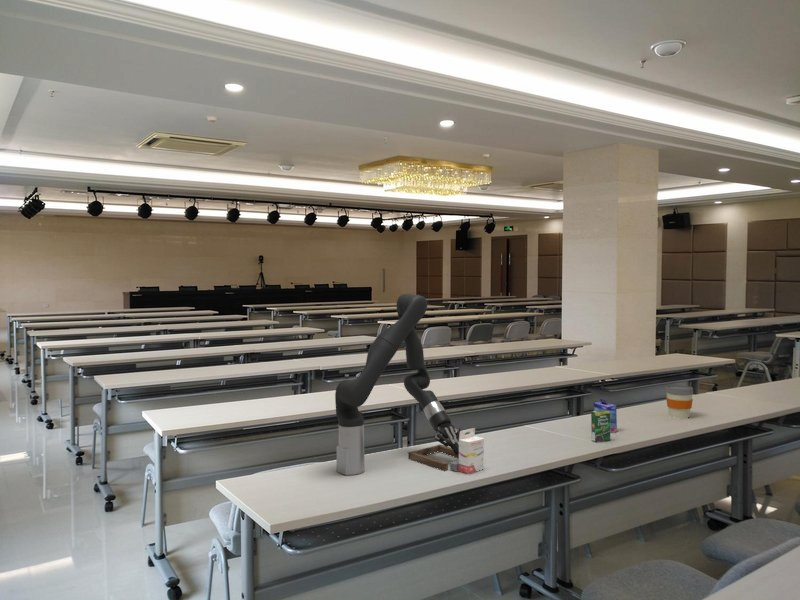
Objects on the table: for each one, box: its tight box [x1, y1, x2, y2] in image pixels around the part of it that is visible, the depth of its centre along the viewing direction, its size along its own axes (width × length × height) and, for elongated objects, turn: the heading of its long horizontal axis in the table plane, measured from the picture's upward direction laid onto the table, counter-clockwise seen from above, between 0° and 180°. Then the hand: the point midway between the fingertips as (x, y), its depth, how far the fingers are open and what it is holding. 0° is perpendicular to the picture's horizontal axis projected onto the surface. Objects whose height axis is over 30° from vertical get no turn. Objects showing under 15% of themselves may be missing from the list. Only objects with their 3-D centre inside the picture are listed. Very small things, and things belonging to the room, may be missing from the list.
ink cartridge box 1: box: [458, 427, 485, 475], centre depth 219 cm, size 9×5×15 cm, turn 129°
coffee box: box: [590, 410, 611, 443], centre depth 257 cm, size 8×3×13 cm, turn 108°
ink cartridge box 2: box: [593, 398, 618, 434], centre depth 275 cm, size 10×6×14 cm, turn 21°
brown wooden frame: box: [407, 444, 459, 472], centre depth 232 cm, size 17×20×2 cm
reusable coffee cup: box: [665, 384, 694, 419], centre depth 300 cm, size 13×13×15 cm
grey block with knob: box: [449, 459, 459, 472], centre depth 222 cm, size 12×4×10 cm, turn 130°
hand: (459, 453), depth 224 cm, fingers closed
